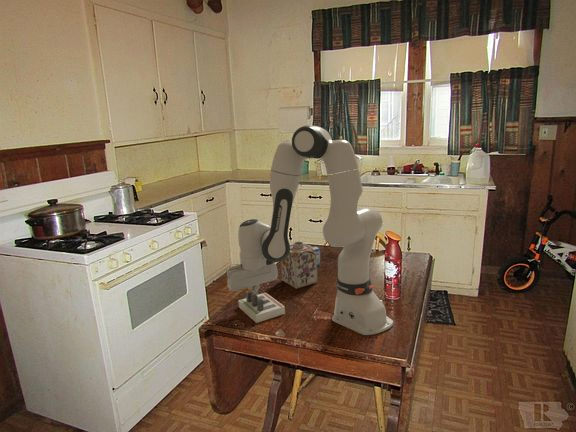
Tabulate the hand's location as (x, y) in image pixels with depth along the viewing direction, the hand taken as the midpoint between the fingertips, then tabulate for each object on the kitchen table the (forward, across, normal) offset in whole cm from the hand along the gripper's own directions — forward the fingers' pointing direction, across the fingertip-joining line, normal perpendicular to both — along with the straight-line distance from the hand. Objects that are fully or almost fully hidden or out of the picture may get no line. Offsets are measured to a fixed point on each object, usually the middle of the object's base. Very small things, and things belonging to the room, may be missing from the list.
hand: (254, 295), depth 163 cm
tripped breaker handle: (+2, -2, 0) cm, 3 cm away
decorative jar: (+5, +27, +10) cm, 29 cm away
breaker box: (+5, 0, -5) cm, 7 cm away
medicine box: (+5, +42, +23) cm, 48 cm away
